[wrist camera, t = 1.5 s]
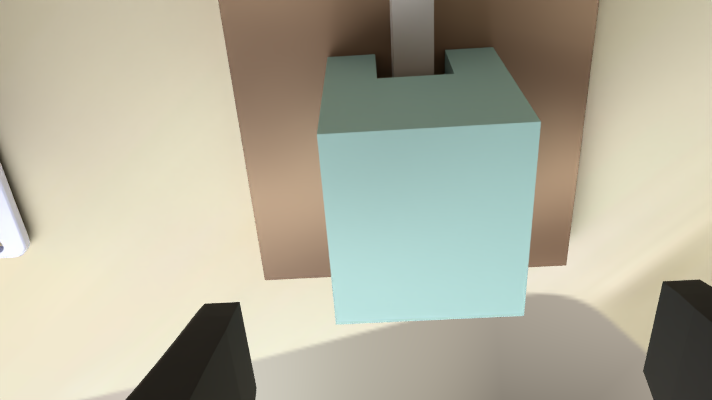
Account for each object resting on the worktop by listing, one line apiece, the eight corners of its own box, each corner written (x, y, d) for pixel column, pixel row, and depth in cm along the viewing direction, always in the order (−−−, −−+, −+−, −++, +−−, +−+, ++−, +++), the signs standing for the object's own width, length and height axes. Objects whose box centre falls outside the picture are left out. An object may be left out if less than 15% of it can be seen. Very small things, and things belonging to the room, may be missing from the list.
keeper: (485, 205, 20) (523, 315, 15) (340, 213, 20) (336, 324, 15) (492, 46, 17) (541, 121, 13) (327, 57, 17) (316, 134, 13)
